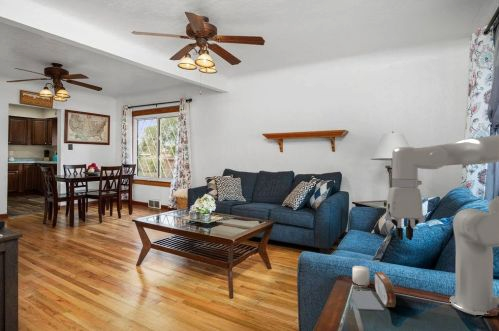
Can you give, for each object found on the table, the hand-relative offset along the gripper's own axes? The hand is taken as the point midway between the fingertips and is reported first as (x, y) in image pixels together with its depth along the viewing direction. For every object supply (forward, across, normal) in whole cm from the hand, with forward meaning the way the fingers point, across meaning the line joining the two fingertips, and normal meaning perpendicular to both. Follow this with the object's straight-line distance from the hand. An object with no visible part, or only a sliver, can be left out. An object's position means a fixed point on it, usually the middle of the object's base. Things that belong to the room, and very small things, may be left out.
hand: (404, 238), depth 97 cm
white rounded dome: (+21, +10, -13) cm, 27 cm away
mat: (+21, +13, 0) cm, 25 cm away
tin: (+21, +6, 0) cm, 22 cm away
